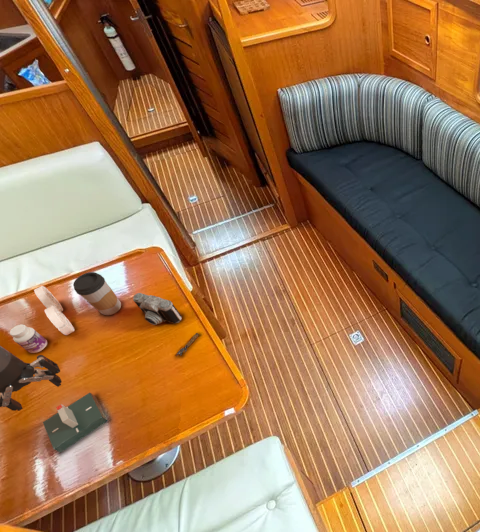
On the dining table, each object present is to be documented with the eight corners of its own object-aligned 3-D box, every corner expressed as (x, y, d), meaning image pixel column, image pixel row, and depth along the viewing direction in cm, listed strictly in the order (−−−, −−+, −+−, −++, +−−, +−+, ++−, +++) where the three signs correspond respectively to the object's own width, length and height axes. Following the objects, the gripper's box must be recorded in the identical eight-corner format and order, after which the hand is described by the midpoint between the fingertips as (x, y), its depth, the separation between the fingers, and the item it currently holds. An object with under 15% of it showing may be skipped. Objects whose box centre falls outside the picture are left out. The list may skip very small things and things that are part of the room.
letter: (50, 302, 138) (30, 284, 131) (57, 298, 139) (38, 280, 132) (70, 340, 128) (50, 323, 120) (78, 336, 129) (58, 318, 121)
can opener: (197, 334, 129) (196, 332, 129) (202, 336, 129) (201, 335, 128) (175, 355, 124) (173, 353, 123) (180, 358, 123) (178, 356, 123)
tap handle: (78, 424, 107) (67, 417, 103) (72, 428, 106) (61, 421, 103) (71, 410, 109) (61, 403, 106) (66, 414, 109) (55, 407, 105)
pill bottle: (31, 356, 124) (9, 340, 117) (26, 346, 126) (4, 330, 119) (50, 345, 126) (29, 329, 119) (45, 336, 129) (24, 319, 122)
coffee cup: (111, 296, 140) (87, 268, 129) (130, 302, 138) (107, 274, 127) (92, 314, 135) (65, 286, 124) (111, 321, 133) (85, 293, 122)
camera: (135, 320, 133) (119, 302, 126) (149, 305, 137) (135, 287, 130) (171, 332, 130) (157, 314, 123) (184, 316, 134) (172, 298, 127)
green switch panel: (60, 452, 105) (53, 449, 102) (49, 426, 109) (42, 421, 107) (108, 420, 111) (101, 416, 108) (95, 396, 115) (89, 391, 113)
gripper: (22, 333, 91) (66, 367, 104) (-55, 374, 85) (2, 405, 97) (31, 353, 88) (76, 385, 100) (-48, 398, 81) (10, 426, 93)
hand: (39, 395), depth 98 cm, fingers open, 8 cm apart
